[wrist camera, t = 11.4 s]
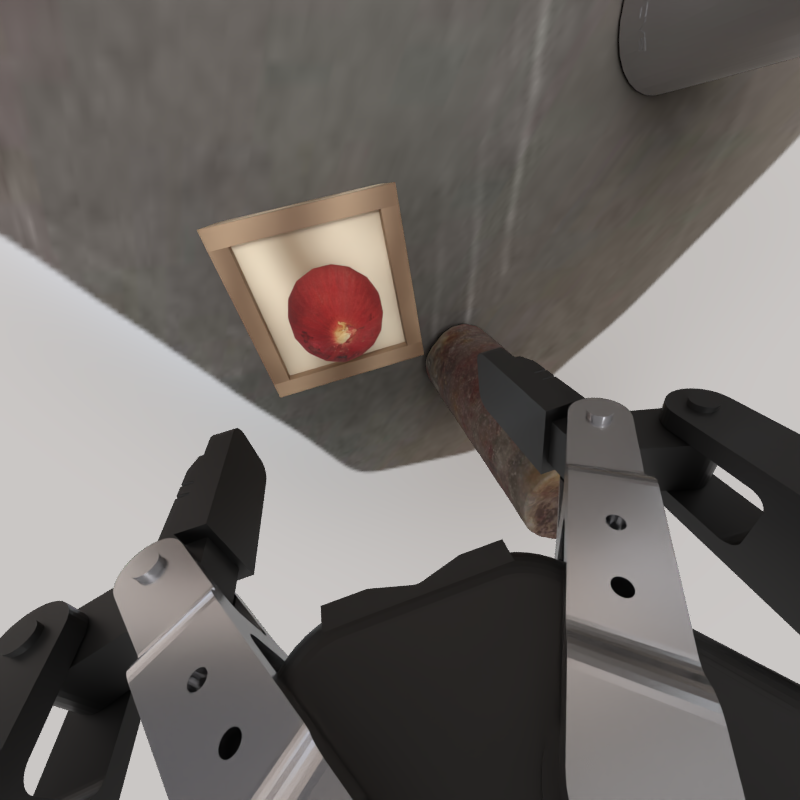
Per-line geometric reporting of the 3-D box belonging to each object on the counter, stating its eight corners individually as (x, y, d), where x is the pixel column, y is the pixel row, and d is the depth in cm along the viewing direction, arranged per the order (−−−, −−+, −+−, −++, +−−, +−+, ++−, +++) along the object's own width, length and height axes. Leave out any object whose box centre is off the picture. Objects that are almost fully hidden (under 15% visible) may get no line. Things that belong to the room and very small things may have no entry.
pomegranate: (366, 340, 26) (388, 390, 19) (289, 334, 24) (285, 387, 17) (376, 261, 23) (406, 290, 16) (289, 248, 21) (284, 274, 14)
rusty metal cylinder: (452, 397, 37) (570, 557, 21) (406, 365, 34) (506, 530, 17) (500, 346, 35) (671, 480, 19) (457, 306, 31) (624, 429, 15)
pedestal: (377, 184, 25) (395, 182, 20) (405, 330, 31) (424, 354, 27) (218, 222, 23) (196, 230, 19) (283, 365, 30) (280, 397, 25)
